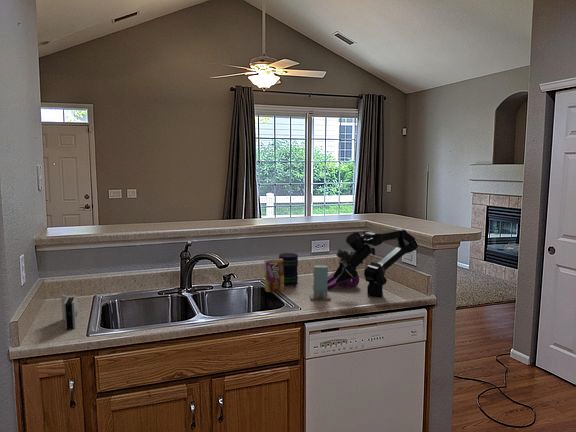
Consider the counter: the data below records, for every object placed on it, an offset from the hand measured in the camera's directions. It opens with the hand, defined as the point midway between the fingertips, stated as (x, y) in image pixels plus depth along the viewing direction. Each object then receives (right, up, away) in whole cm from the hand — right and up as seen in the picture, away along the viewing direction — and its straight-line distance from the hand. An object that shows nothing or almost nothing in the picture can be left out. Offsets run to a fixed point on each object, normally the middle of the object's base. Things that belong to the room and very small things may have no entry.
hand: (335, 279), depth 201 cm
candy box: (-28, -8, +13) cm, 32 cm away
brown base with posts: (-7, -9, +1) cm, 11 cm away
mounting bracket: (+4, -7, +20) cm, 22 cm away
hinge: (-106, -13, -32) cm, 111 cm away
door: (-7, -8, +1) cm, 10 cm away
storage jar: (-21, -6, +26) cm, 34 cm away
